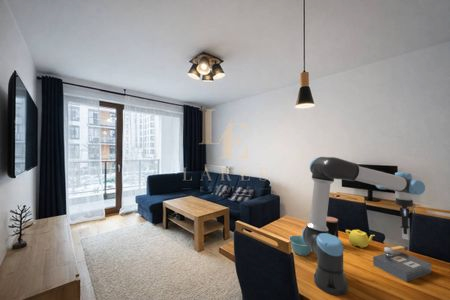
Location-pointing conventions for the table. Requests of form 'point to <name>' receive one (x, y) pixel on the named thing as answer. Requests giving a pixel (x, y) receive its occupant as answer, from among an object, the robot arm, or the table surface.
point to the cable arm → (395, 249)
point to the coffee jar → (332, 226)
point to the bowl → (299, 245)
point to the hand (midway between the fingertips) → (405, 238)
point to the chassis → (402, 265)
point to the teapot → (359, 238)
